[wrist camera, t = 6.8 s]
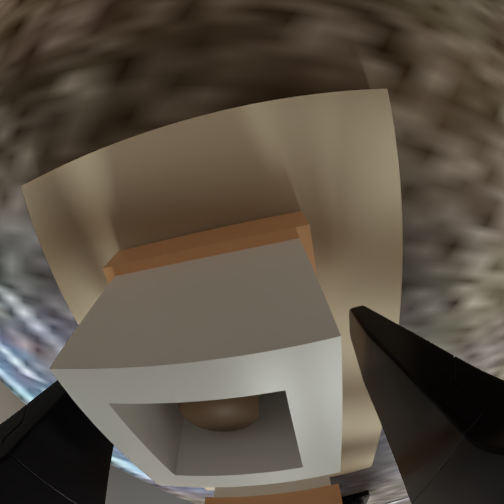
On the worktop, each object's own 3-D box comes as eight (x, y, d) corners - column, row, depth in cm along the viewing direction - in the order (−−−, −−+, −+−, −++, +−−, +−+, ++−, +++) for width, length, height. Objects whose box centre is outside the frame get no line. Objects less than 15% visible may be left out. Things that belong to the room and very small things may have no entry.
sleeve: (300, 209, 8) (361, 313, 4) (320, 355, 10) (351, 472, 6) (119, 250, 9) (31, 356, 4) (178, 377, 11) (154, 487, 6)
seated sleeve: (326, 461, 14) (339, 529, 10) (238, 474, 15) (237, 540, 10) (324, 418, 12) (343, 508, 8) (210, 433, 13) (203, 521, 8)
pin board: (367, 454, 16) (383, 511, 12) (207, 477, 17) (203, 534, 13) (371, 92, 8) (480, 73, 3) (40, 179, 9) (-62, 225, 4)
